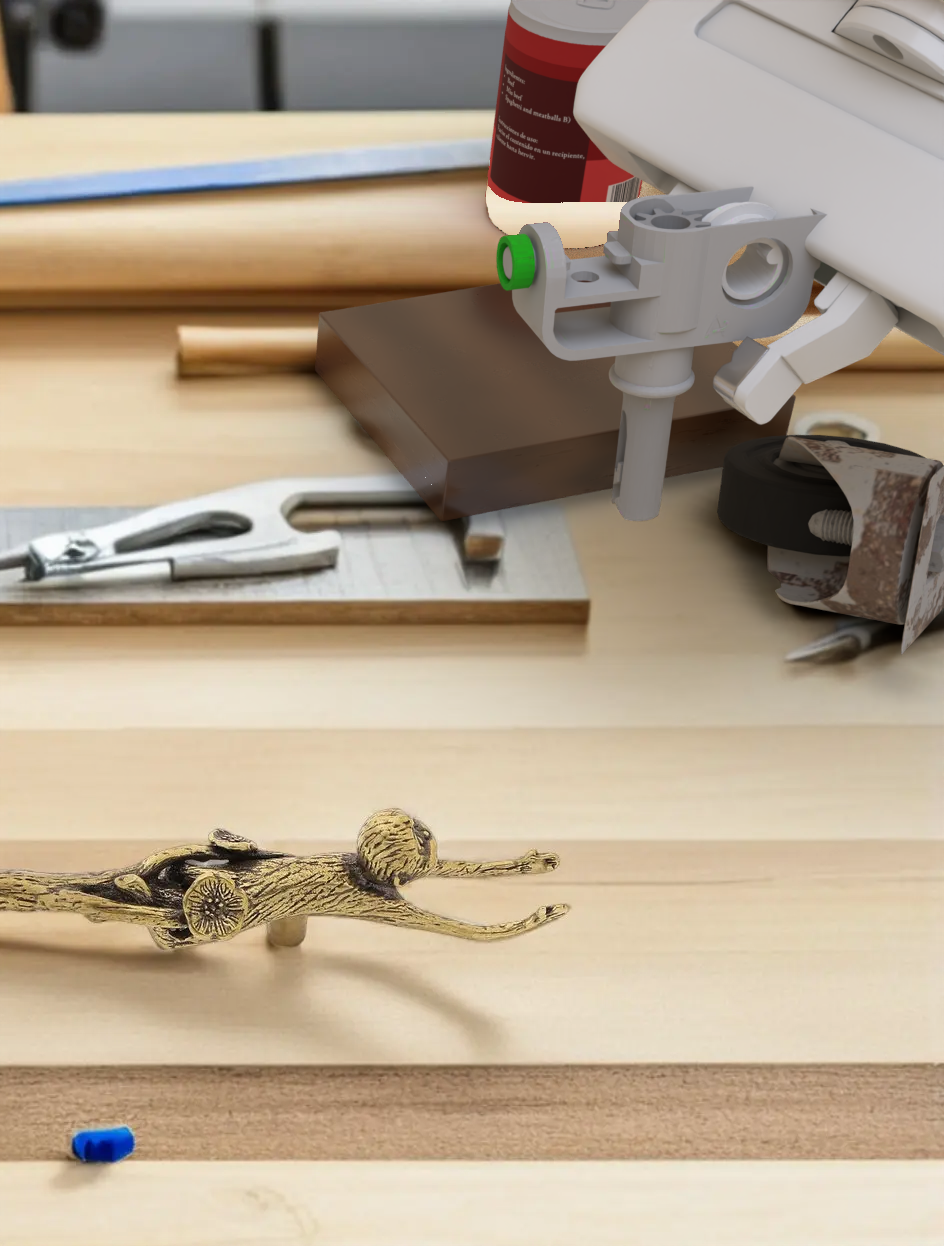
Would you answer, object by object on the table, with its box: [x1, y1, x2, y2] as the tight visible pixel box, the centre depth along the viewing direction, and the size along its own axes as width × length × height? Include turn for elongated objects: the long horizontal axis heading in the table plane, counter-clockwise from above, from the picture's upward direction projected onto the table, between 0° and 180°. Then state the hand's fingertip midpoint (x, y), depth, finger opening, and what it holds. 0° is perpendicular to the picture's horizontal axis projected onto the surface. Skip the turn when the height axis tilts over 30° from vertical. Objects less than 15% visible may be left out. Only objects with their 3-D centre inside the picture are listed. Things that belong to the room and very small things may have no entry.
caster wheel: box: [716, 434, 944, 655], centre depth 81 cm, size 7×11×10 cm
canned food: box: [484, 0, 649, 203], centre depth 102 cm, size 8×8×11 cm
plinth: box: [314, 280, 797, 522], centre depth 90 cm, size 16×13×3 cm
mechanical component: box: [495, 186, 827, 522], centre depth 65 cm, size 3×10×10 cm, turn 101°
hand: (683, 372), depth 65 cm, fingers closed on mechanical component, 3 cm apart
